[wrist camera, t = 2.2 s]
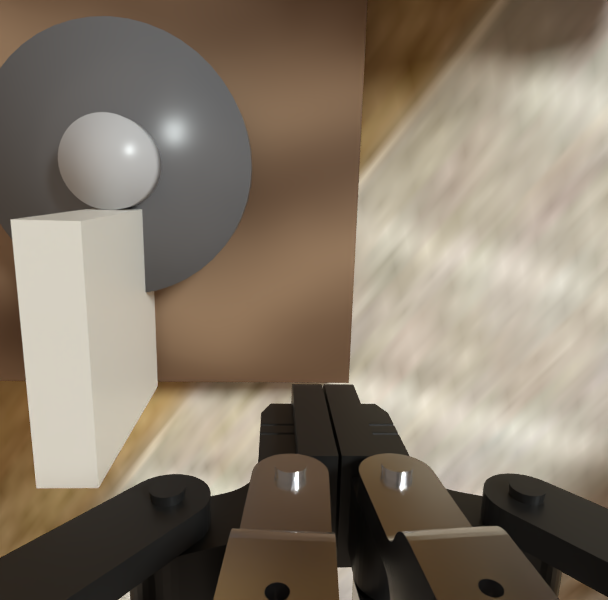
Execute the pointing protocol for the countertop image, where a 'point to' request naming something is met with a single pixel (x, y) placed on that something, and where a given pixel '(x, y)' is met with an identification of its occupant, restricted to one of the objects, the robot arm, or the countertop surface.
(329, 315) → the dial plate
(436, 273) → the countertop surface
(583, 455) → the countertop surface
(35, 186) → the dial
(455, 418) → the countertop surface
